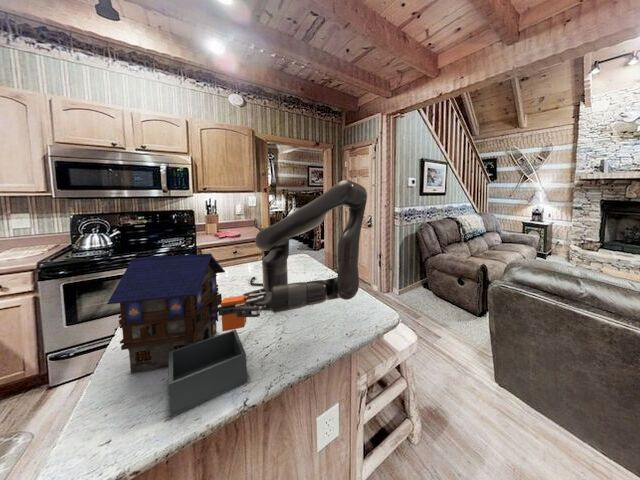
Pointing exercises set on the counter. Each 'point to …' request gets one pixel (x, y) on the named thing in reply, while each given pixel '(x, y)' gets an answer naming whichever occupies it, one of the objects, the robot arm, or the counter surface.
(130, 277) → the miniature building
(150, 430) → the counter surface
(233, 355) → the bin
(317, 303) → the robot arm
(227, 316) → the block
